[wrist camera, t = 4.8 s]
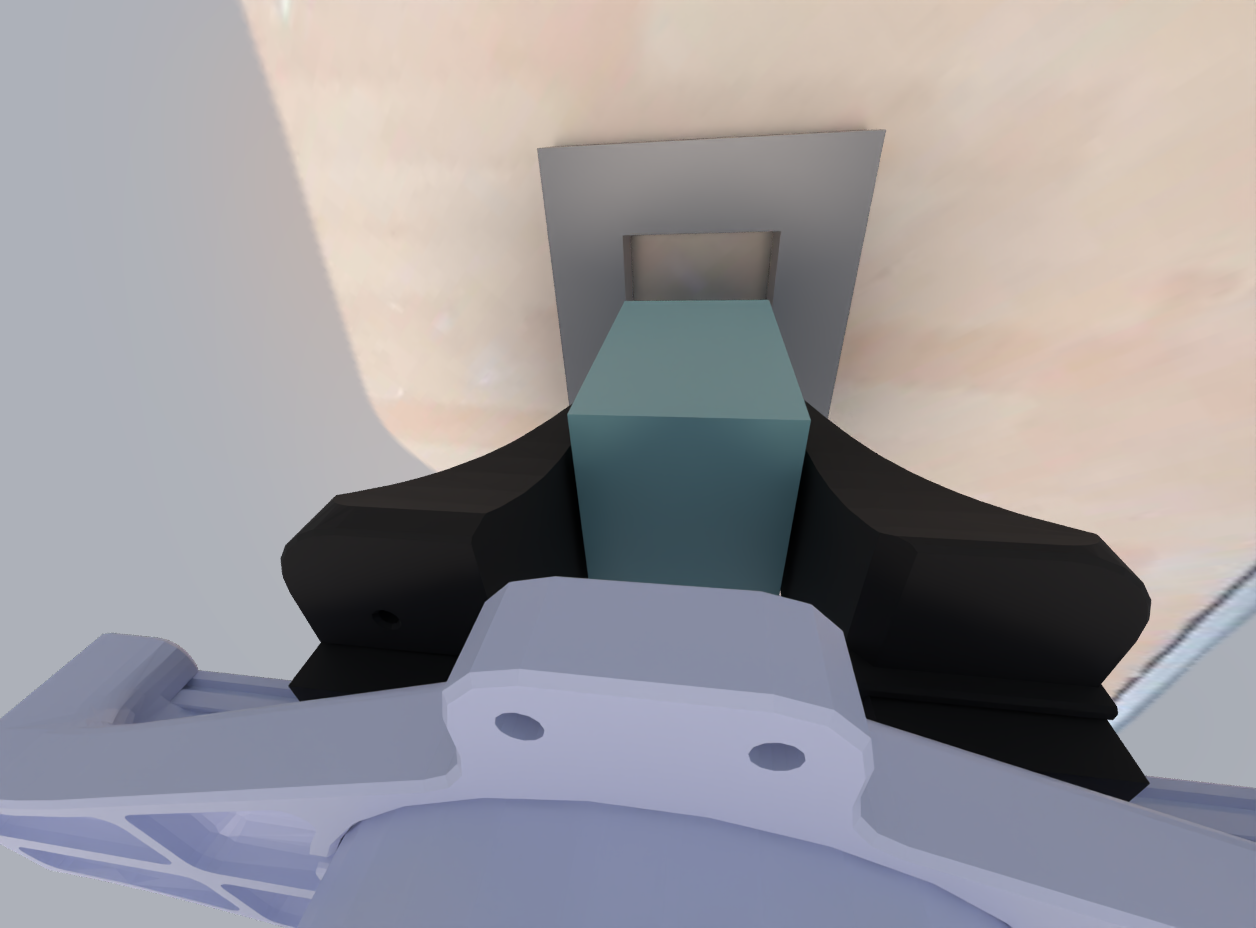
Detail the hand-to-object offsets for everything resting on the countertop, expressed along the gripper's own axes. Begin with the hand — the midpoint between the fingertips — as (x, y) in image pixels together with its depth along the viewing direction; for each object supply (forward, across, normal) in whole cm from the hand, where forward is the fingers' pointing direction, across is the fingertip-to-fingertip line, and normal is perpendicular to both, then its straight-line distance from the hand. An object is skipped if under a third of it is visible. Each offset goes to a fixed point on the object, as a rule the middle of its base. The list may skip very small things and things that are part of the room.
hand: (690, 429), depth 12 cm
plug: (+2, 0, 0) cm, 2 cm away
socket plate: (+9, 0, 0) cm, 9 cm away
